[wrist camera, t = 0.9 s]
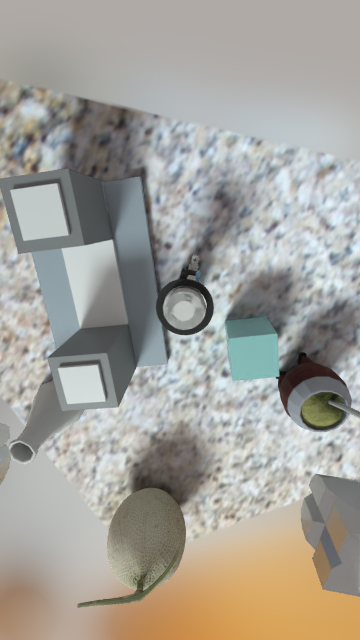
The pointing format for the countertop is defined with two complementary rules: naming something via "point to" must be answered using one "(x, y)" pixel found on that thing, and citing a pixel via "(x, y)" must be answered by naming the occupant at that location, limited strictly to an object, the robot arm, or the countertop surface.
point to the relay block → (252, 348)
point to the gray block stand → (90, 279)
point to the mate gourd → (315, 396)
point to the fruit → (144, 543)
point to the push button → (185, 303)
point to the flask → (42, 423)
